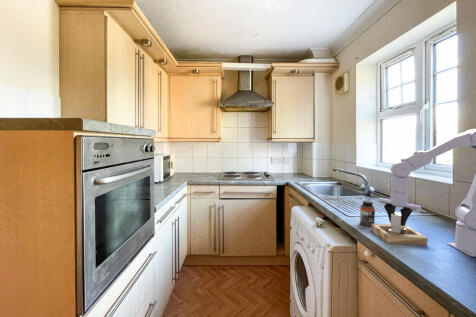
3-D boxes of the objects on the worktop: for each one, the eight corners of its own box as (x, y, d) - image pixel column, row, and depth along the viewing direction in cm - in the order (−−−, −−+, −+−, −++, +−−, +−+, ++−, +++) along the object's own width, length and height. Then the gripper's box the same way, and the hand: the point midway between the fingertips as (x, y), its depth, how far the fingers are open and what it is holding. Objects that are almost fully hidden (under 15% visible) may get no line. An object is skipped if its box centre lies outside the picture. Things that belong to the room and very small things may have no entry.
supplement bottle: (365, 221, 107) (366, 199, 106) (377, 225, 101) (378, 202, 101) (356, 223, 105) (357, 200, 104) (368, 227, 99) (369, 203, 99)
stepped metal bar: (406, 232, 90) (407, 213, 89) (398, 236, 86) (398, 217, 85) (396, 229, 93) (397, 211, 92) (388, 233, 89) (389, 214, 88)
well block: (427, 245, 82) (427, 237, 82) (387, 243, 84) (388, 235, 83) (404, 231, 95) (405, 224, 95) (370, 230, 96) (371, 223, 96)
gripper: (425, 193, 84) (423, 227, 85) (384, 187, 96) (383, 216, 97) (417, 196, 80) (415, 231, 81) (376, 188, 93) (374, 219, 94)
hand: (397, 223), depth 89 cm, fingers closed on stepped metal bar, 3 cm apart
